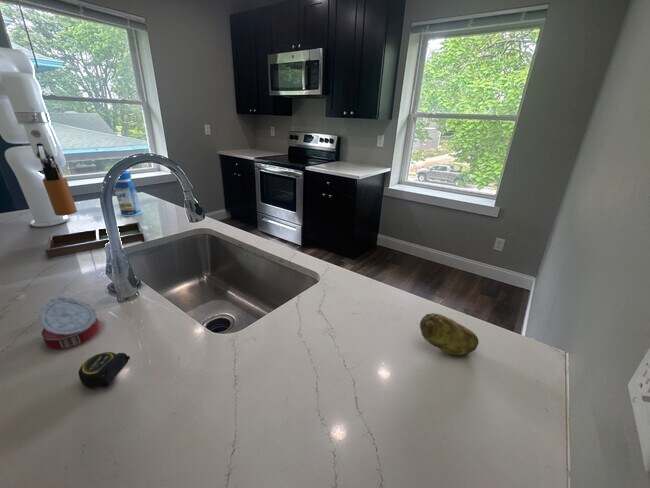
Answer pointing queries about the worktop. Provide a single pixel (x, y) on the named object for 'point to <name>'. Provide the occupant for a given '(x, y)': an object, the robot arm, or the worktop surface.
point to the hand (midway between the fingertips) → (54, 177)
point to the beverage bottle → (127, 195)
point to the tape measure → (102, 369)
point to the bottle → (60, 195)
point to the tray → (90, 240)
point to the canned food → (67, 323)
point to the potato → (448, 334)
